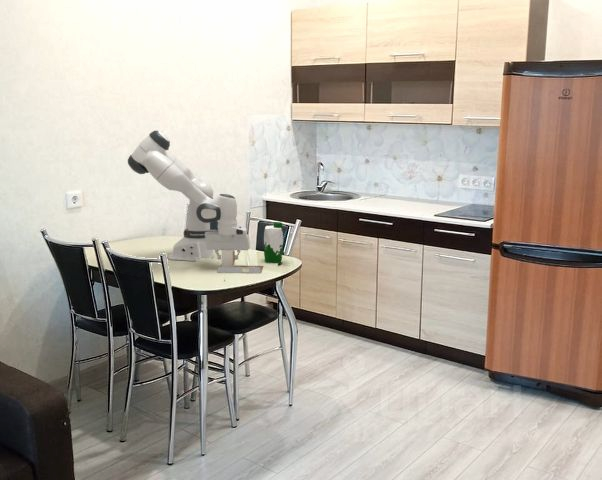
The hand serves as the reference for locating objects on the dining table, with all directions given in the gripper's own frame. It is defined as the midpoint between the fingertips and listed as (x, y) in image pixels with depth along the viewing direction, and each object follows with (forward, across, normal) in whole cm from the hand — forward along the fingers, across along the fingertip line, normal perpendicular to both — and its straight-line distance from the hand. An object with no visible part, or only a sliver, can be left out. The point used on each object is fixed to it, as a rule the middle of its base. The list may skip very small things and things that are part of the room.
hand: (227, 259), depth 292 cm
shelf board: (+5, +6, -2) cm, 8 cm away
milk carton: (+6, +20, +15) cm, 26 cm away
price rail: (+4, +6, -9) cm, 11 cm away
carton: (+4, 0, 0) cm, 4 cm away
